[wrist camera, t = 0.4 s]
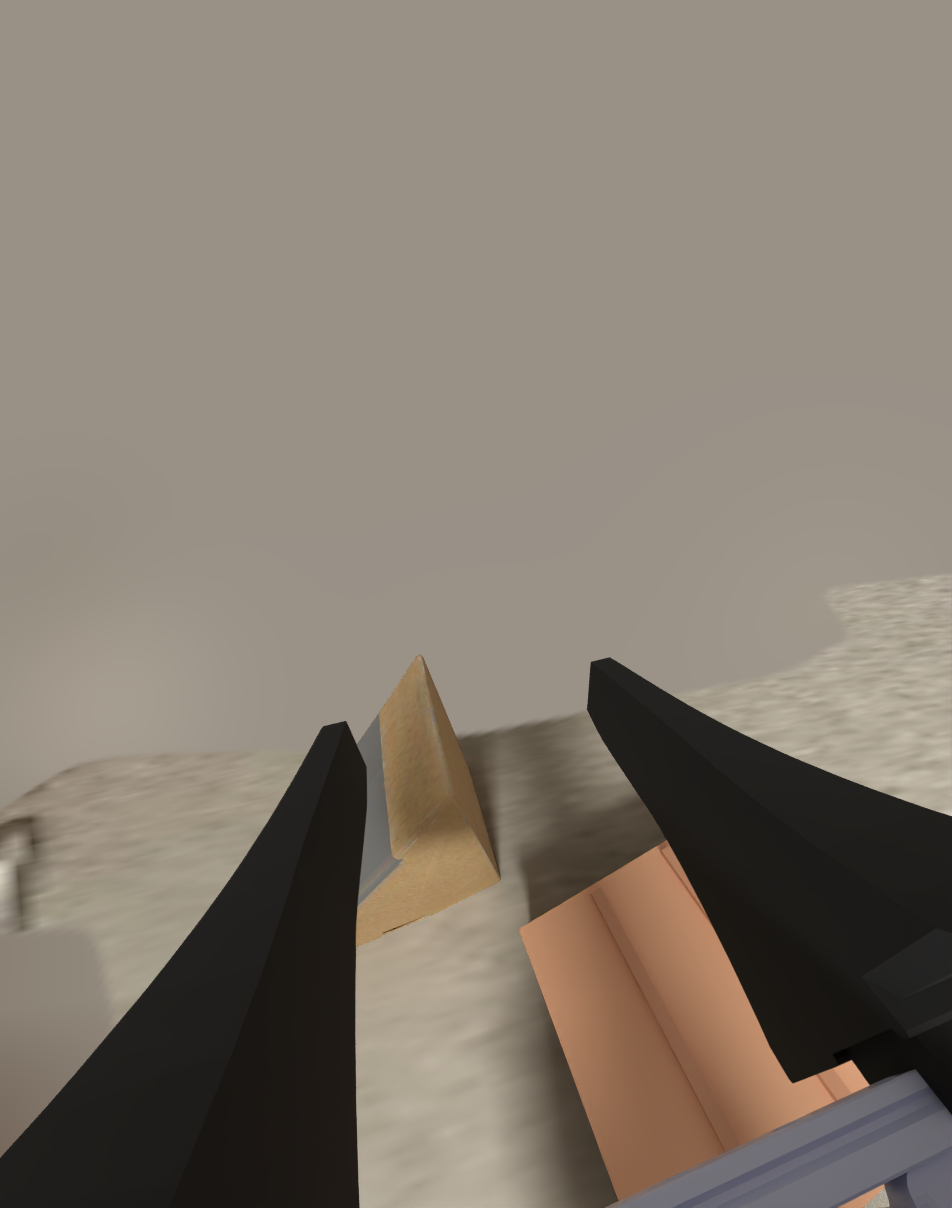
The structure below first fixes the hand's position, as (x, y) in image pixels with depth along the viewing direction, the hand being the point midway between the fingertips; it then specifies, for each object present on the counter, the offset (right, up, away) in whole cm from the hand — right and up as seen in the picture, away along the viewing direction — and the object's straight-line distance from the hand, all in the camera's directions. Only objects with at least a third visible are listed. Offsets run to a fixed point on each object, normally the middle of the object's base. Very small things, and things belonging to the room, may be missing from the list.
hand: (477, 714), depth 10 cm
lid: (+12, -14, +6) cm, 20 cm away
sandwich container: (-7, -16, +15) cm, 23 cm away
